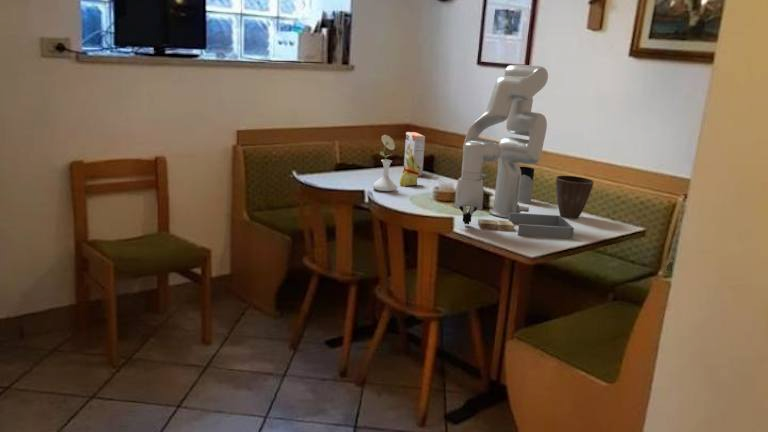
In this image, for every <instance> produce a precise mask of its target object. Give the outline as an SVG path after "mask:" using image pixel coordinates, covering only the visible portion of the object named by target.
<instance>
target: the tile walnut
mask: <svg viewBox="0 0 768 432" xmlns="http://www.w3.org/2000/svg"><path fill="white" fill-rule="evenodd" d="M477 225H478V227H479V229H480V230H492V231H497V228H496V227H497V224H496V222H495V220H494V219H480V218H479V219H478V222H477Z"/></svg>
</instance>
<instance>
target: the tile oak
mask: <svg viewBox="0 0 768 432" xmlns="http://www.w3.org/2000/svg"><path fill="white" fill-rule="evenodd" d="M494 221H495V222H496V224H497V227H496V231H509V232H510V231H512V232H514V229H515V224H514V223H512V222H511V221H509V220H494Z"/></svg>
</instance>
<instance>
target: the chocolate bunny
mask: <svg viewBox="0 0 768 432" xmlns="http://www.w3.org/2000/svg"><path fill="white" fill-rule="evenodd" d="M406 162H407V168H406V169H405V168H404V167H403V171H402V174H401V178H400V180H399V184H400V186H402V187H408V186H416V185H418V178H419V176H418V175H419V171H420V165H419V164H418V163H417V162H416V161H415V158H414V156H413V154H410V155H409V156H408V157H407V158H406Z"/></svg>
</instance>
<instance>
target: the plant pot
mask: <svg viewBox="0 0 768 432" xmlns="http://www.w3.org/2000/svg"><path fill="white" fill-rule="evenodd" d="M555 186H556V187H555V188H556V191H555V192H556V201H557V208H558V212H559V216H561V217H562V218H563V219H564V218H565V219H570V220H576V219H577V220H578V219H579V218H580V216H581V214H582V213H583V210H584V209H585V206H586V204H587V202H588V200H589V197H590V195H591V193H592V189H593V186H594V180H592V179H589V178H587V177H582V176H573V175H557V176H556V177H555Z"/></svg>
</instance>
